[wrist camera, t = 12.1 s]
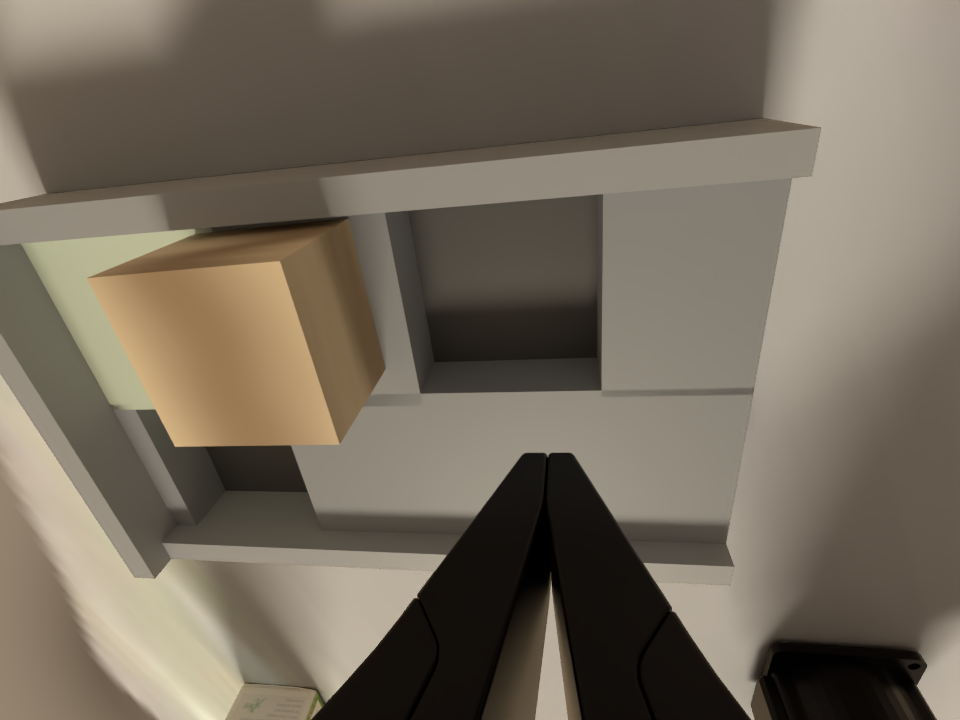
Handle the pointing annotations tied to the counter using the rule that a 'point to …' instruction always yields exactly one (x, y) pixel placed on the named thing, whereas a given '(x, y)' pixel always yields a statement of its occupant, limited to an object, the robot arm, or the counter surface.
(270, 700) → the syrup box
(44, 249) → the trap board
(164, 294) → the block
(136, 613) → the counter surface
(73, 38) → the counter surface
